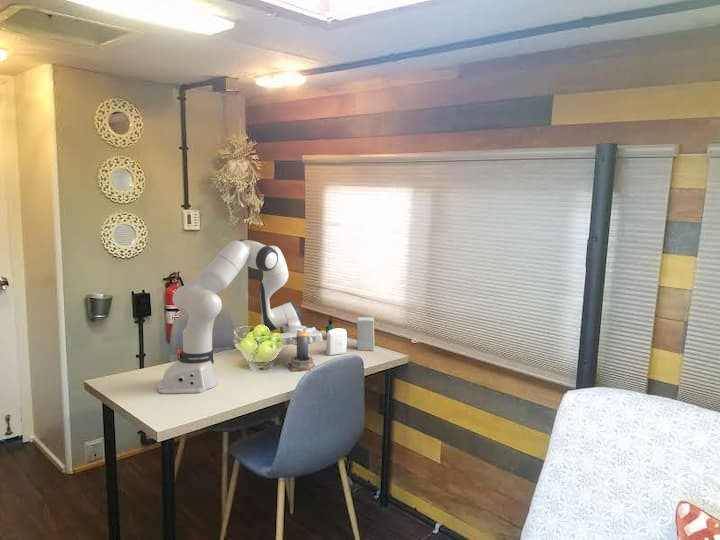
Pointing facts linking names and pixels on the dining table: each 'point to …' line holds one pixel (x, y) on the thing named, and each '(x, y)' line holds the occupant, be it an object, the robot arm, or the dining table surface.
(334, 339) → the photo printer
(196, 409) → the dining table surface
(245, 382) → the dining table surface
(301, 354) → the charcoal canister
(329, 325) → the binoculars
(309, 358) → the ring socket
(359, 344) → the skincare box
